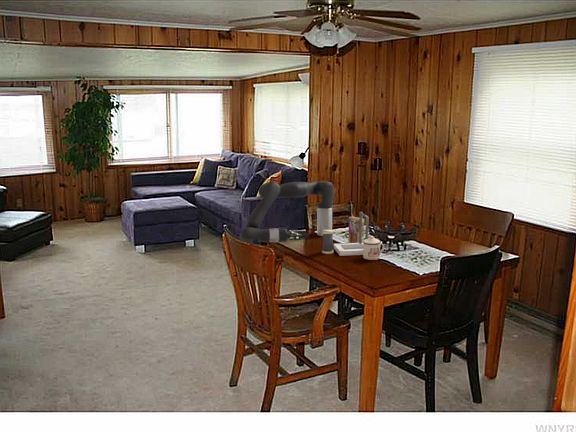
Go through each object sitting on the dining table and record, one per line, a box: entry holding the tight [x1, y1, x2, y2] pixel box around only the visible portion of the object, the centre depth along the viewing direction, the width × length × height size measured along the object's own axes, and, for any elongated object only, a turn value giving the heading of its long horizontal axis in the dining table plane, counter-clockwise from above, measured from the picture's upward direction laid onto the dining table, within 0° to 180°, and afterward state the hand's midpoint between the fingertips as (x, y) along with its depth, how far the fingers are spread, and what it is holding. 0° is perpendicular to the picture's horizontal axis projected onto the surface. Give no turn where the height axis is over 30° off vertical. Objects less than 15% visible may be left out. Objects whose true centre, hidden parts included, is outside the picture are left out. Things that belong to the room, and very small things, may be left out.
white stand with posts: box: [333, 211, 370, 257], centre depth 309 cm, size 16×20×21 cm
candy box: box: [347, 216, 365, 243], centre depth 326 cm, size 9×4×15 cm, turn 39°
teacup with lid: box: [362, 235, 385, 261], centre depth 297 cm, size 12×9×12 cm
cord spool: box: [321, 229, 335, 255], centre depth 308 cm, size 6×6×12 cm
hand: (307, 234), depth 306 cm, fingers open, 8 cm apart
